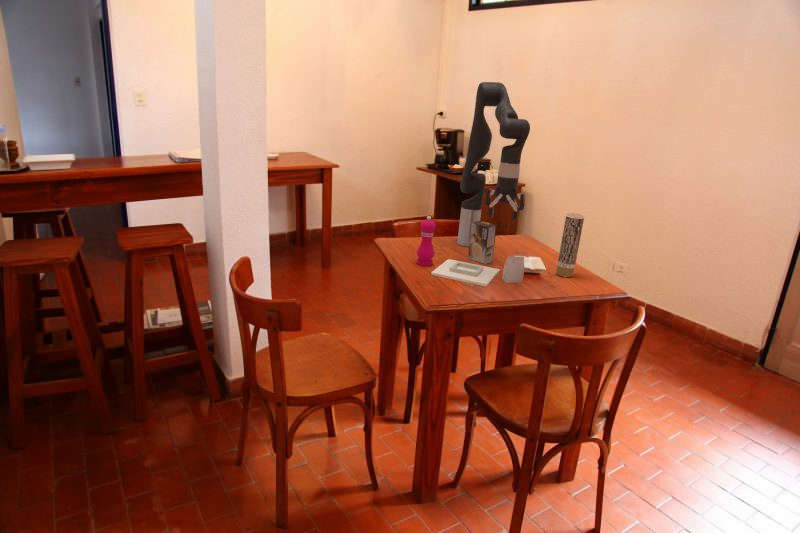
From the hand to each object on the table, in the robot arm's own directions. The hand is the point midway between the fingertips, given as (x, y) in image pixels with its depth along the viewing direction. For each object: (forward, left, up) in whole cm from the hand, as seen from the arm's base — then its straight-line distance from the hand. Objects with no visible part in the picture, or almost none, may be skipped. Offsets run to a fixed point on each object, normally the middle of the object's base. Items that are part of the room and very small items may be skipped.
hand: (502, 218), depth 200 cm
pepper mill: (-1, -29, -24) cm, 38 cm away
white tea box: (-2, +6, -24) cm, 25 cm away
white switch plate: (0, -11, -24) cm, 27 cm away
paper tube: (-22, +24, -24) cm, 40 cm away
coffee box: (-20, -11, -24) cm, 33 cm away
